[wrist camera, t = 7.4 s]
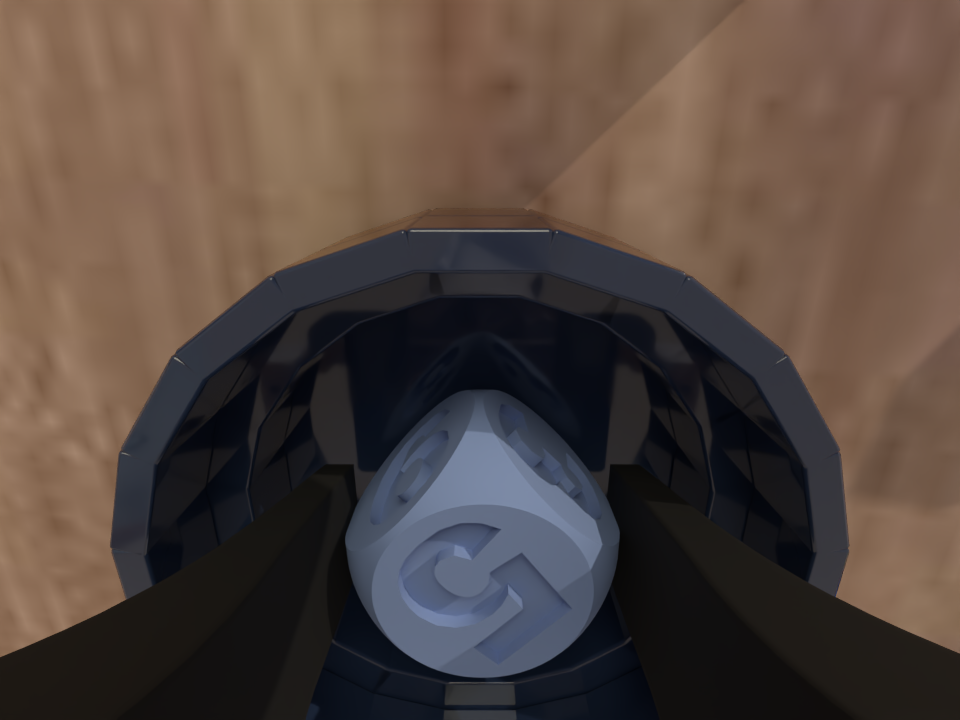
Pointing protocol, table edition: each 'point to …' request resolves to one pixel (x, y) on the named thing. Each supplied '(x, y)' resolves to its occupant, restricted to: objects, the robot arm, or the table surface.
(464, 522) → the decorative dice
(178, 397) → the bowl
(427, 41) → the table surface
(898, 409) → the table surface
